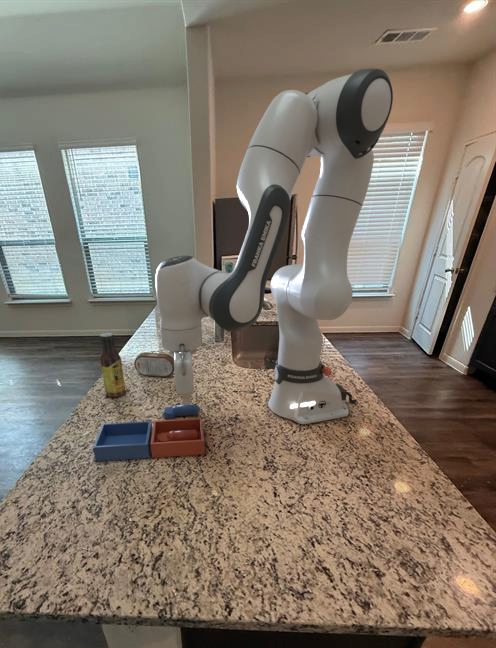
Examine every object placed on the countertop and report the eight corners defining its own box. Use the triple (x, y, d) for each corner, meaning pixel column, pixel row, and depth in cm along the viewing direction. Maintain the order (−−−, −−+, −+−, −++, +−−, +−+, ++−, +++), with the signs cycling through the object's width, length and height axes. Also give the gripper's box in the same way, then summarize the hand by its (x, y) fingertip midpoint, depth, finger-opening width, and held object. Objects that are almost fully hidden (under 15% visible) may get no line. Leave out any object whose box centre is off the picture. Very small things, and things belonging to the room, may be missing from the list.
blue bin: (152, 433, 82) (151, 420, 80) (149, 457, 73) (147, 444, 71) (104, 436, 81) (102, 423, 79) (95, 461, 73) (92, 447, 71)
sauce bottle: (120, 399, 98) (110, 338, 89) (102, 397, 99) (90, 337, 90) (129, 389, 104) (120, 331, 95) (112, 387, 105) (101, 330, 96)
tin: (177, 374, 113) (175, 353, 109) (175, 378, 110) (173, 356, 106) (138, 372, 115) (135, 351, 112) (134, 376, 113) (131, 354, 109)
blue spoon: (199, 410, 91) (199, 401, 90) (200, 417, 88) (199, 408, 87) (164, 412, 91) (163, 403, 89) (163, 419, 88) (162, 410, 86)
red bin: (202, 430, 83) (201, 417, 81) (204, 454, 74) (204, 440, 72) (155, 433, 82) (153, 420, 80) (152, 457, 73) (150, 444, 71)
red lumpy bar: (199, 436, 80) (198, 426, 78) (199, 444, 76) (199, 435, 75) (158, 438, 79) (157, 428, 78) (157, 447, 76) (156, 437, 74)
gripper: (198, 354, 59) (202, 415, 65) (194, 322, 77) (197, 373, 83) (165, 356, 58) (172, 417, 65) (168, 324, 76) (173, 375, 83)
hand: (186, 392), depth 74 cm, fingers open, 8 cm apart
